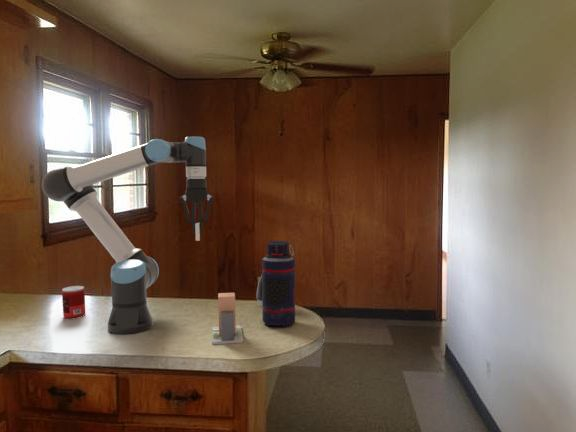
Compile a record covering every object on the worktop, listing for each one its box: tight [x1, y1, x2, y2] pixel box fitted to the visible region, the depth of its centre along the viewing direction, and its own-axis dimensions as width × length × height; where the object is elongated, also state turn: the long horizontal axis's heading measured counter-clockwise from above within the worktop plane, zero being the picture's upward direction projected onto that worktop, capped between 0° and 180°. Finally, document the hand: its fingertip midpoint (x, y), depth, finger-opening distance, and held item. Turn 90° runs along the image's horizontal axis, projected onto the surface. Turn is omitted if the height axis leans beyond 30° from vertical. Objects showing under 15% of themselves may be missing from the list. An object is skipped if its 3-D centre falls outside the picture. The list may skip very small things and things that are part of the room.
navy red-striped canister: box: [261, 240, 296, 329], centre depth 169 cm, size 14×12×30 cm
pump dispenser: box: [255, 274, 262, 307], centre depth 192 cm, size 10×10×15 cm
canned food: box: [61, 285, 86, 320], centre depth 180 cm, size 8×8×11 cm
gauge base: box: [211, 324, 244, 345], centre depth 157 cm, size 10×15×2 cm, turn 9°
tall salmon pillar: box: [213, 292, 243, 336], centre depth 156 cm, size 10×5×13 cm, turn 99°
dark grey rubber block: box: [221, 311, 234, 341], centre depth 151 cm, size 4×3×9 cm
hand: (197, 240), depth 177 cm, fingers closed
